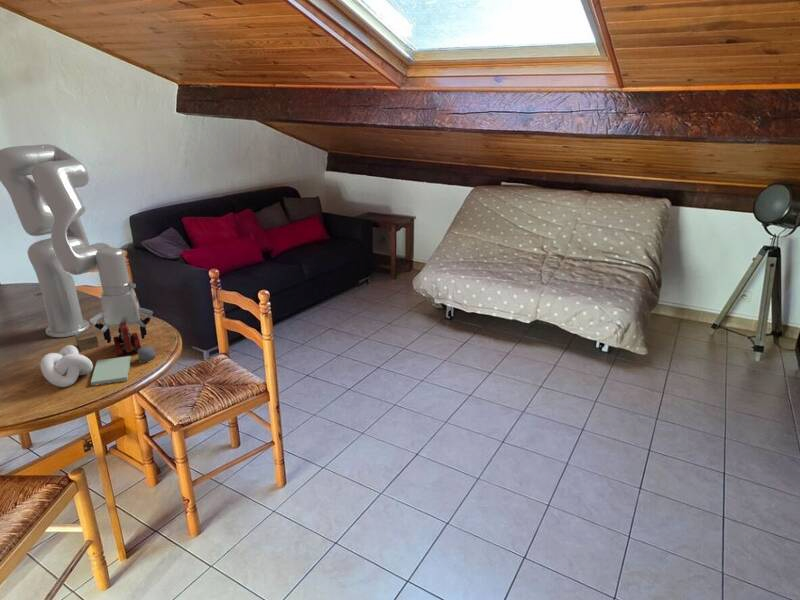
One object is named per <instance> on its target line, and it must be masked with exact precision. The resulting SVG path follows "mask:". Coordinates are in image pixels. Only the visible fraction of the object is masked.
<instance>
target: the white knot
mask: <svg viewBox="0 0 800 600" xmlns="http://www.w3.org/2000/svg"><path fill="white" fill-rule="evenodd" d="M93 366H94V365H93V362H92V361H91V359H90V358H88V357H87V356H85V355H83V354H80V352H79V348H77V347H76V346H74V345H72V344H69V345H66V346H63V347H62V348H61V349H60V350H59V352H49V353H48V354H47V353H46V354H45V355H44V356H43V357H42V359H41V361H40V371H41V372H42V375H43V377H44V378H45V380H47V381H48V382H49V383H50V384H51V385H54V386H56V387H60V388H66V387H70V386H72V385H73V384H75V383H76V381H77V380H78V377H79V376H86V375H87V374H89V373H91V372H92V371H93V368H94V367H93Z"/></svg>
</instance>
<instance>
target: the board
mask: <svg viewBox="0 0 800 600" xmlns="http://www.w3.org/2000/svg"><path fill="white" fill-rule="evenodd" d="M131 362H132V356H131V355H127V356H118V357H114V358H113V357H112V358H106V359H105V358H104V359H97V361H96V362H95V367H94V370H93V373H92V377H91V378H90V379H91V380H90V386H91V385H95V386H97V385H96V384H101V385H104V384H103V383H108V384H111V383H110V382H115V383H119V382H118V381H122V382H125V381H124V380H127V379H128V380H129V375H128V373H129V374H130V369H131V364H130V363H131ZM129 368H130V369H129ZM128 380H127V381H128Z"/></svg>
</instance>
